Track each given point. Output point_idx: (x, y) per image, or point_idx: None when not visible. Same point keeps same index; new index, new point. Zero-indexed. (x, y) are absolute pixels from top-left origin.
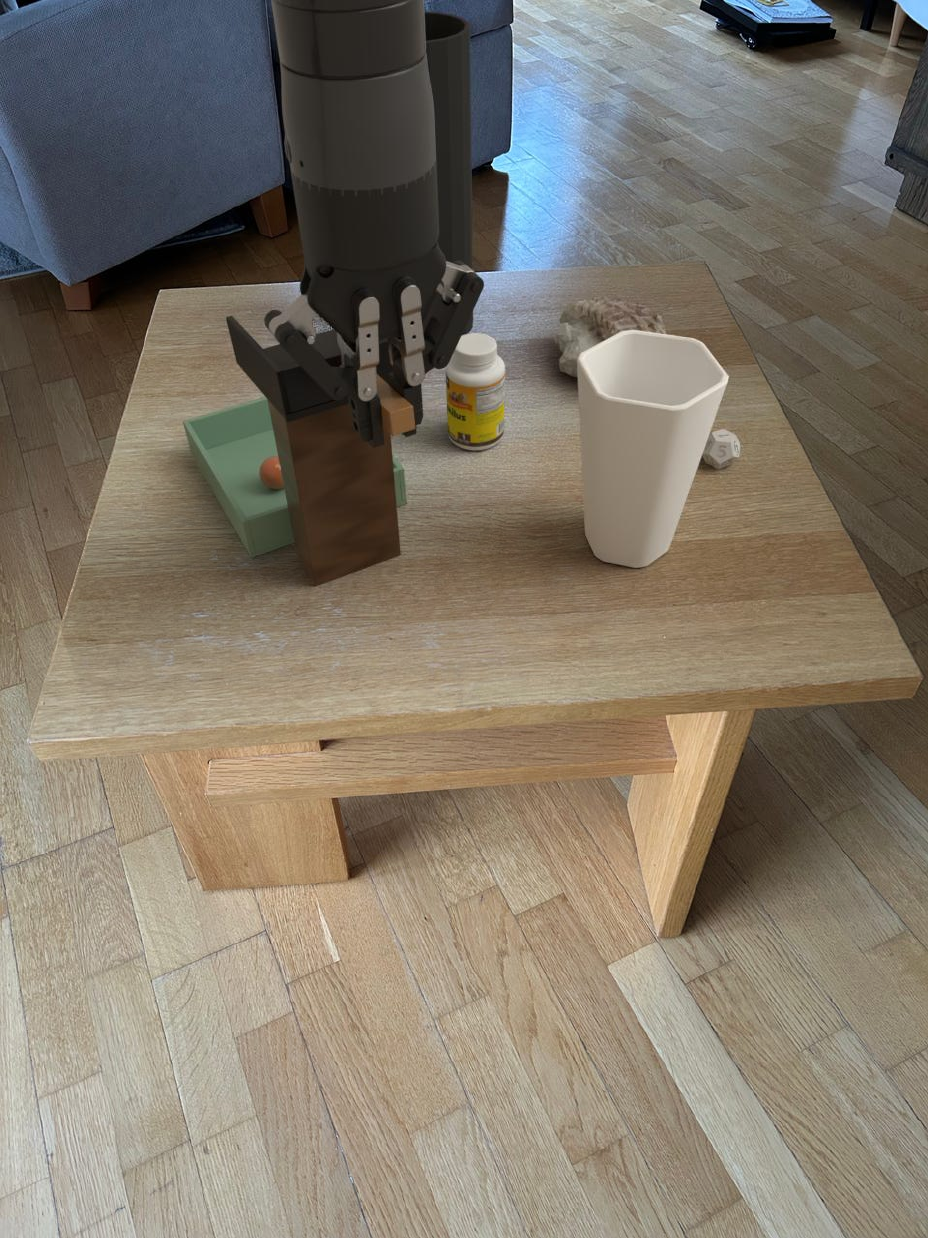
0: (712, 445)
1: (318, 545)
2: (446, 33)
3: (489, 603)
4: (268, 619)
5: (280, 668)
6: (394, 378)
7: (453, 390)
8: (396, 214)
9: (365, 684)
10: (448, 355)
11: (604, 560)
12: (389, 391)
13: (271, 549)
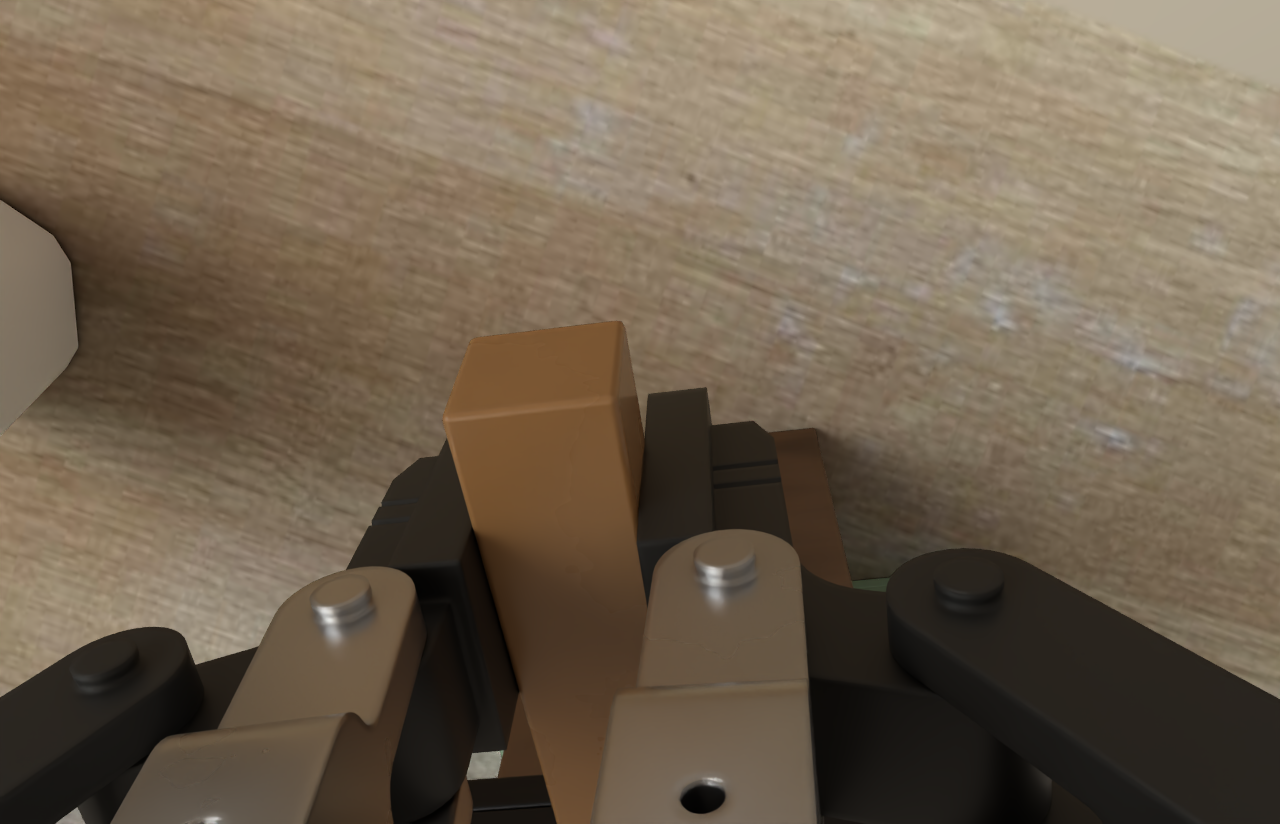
0: None
1: (799, 492)
2: None
3: (399, 203)
4: (964, 361)
5: (997, 184)
6: (484, 692)
7: None
8: None
9: (809, 41)
10: (43, 691)
11: (47, 233)
12: (540, 629)
13: (875, 580)
